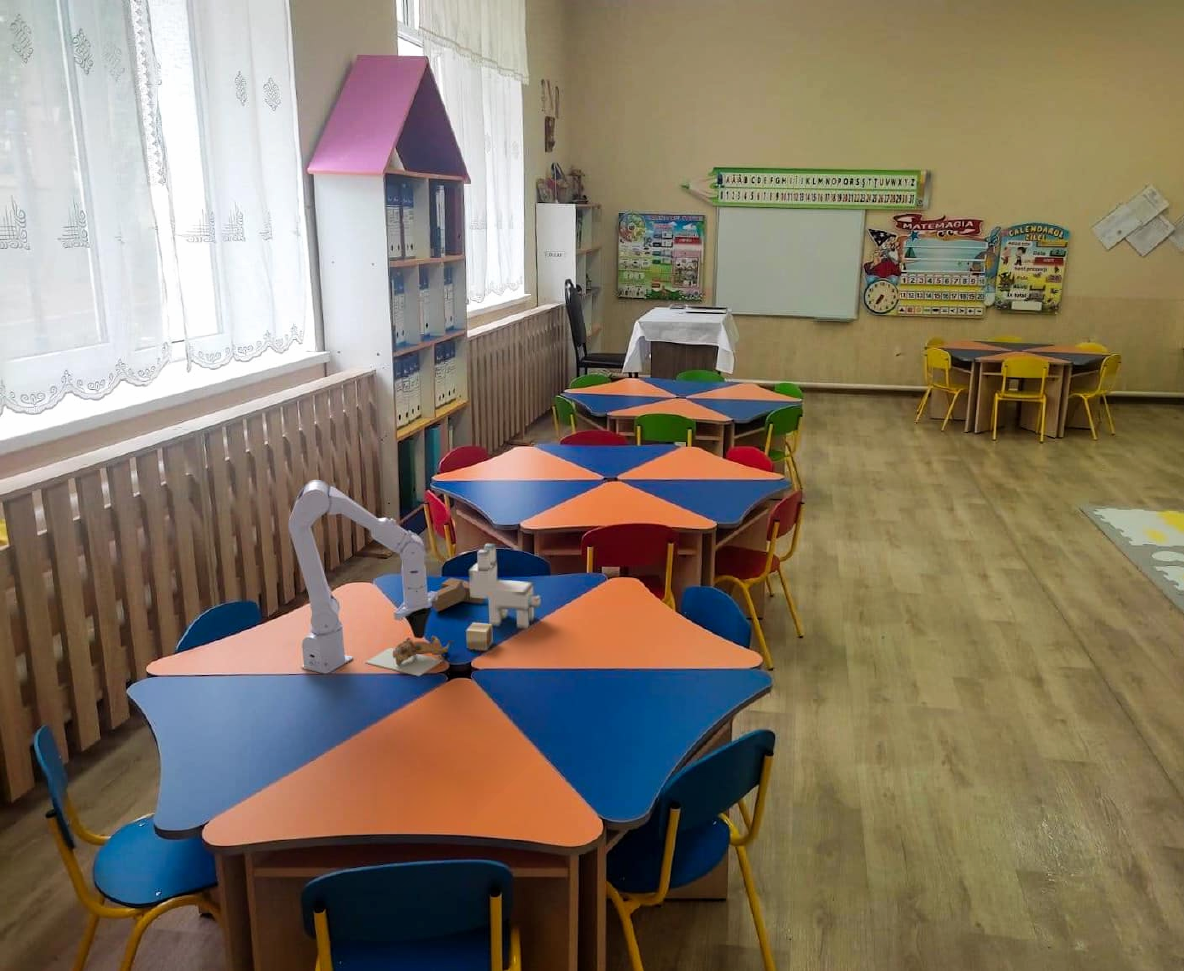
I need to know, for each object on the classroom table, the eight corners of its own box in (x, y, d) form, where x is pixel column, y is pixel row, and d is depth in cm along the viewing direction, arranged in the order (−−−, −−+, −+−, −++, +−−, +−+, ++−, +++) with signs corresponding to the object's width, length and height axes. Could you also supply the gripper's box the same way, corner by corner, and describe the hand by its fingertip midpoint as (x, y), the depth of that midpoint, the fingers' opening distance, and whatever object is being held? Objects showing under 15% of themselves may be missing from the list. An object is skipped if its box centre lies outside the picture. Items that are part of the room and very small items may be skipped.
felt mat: (419, 676, 225) (419, 675, 225) (365, 663, 232) (365, 662, 232) (442, 661, 233) (442, 660, 233) (389, 648, 240) (389, 647, 240)
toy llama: (535, 629, 250) (533, 556, 245) (471, 624, 254) (467, 551, 249) (543, 618, 257) (541, 546, 252) (481, 613, 261) (478, 542, 256)
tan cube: (486, 651, 238) (486, 632, 237) (467, 649, 239) (466, 630, 238) (493, 642, 243) (492, 624, 242) (473, 641, 244) (472, 622, 243)
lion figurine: (394, 661, 236) (393, 669, 227) (391, 639, 236) (390, 646, 227) (455, 650, 238) (456, 657, 229) (451, 629, 238) (452, 635, 229)
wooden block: (489, 603, 276) (471, 619, 259) (445, 595, 279) (423, 610, 261) (493, 578, 275) (474, 592, 258) (448, 570, 278) (427, 583, 260)
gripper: (409, 597, 225) (413, 651, 228) (446, 577, 237) (449, 628, 241) (385, 593, 228) (389, 646, 232) (423, 573, 240) (426, 624, 244)
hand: (419, 637), depth 236 cm, fingers closed, pressing on lion figurine
